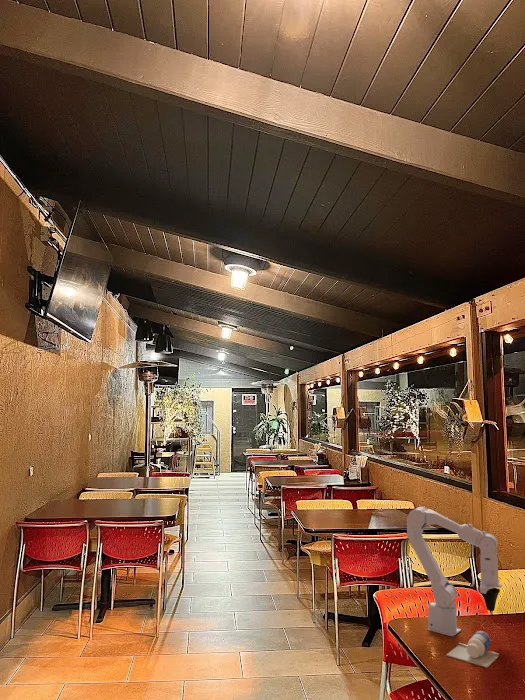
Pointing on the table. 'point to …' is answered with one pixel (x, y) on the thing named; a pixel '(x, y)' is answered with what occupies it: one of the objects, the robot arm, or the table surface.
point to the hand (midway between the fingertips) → (490, 610)
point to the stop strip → (485, 651)
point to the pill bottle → (478, 644)
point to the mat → (463, 655)
